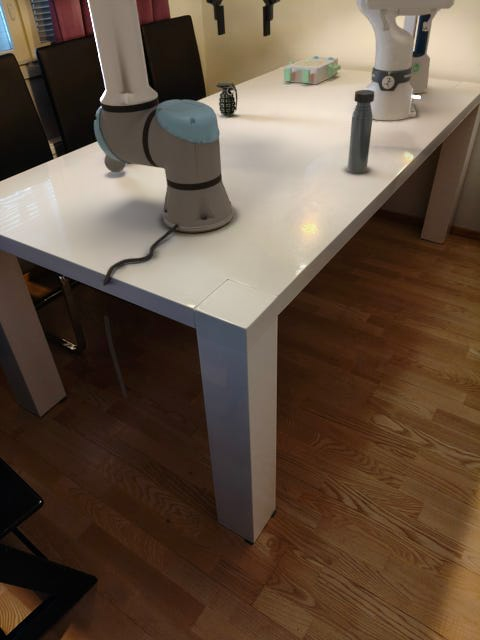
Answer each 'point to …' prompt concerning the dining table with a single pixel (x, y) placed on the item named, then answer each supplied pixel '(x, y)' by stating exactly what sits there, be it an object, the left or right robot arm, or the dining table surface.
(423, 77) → the electronic device
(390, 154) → the dining table surface
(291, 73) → the decorative block
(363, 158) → the bottle
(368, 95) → the cap
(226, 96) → the grenade
